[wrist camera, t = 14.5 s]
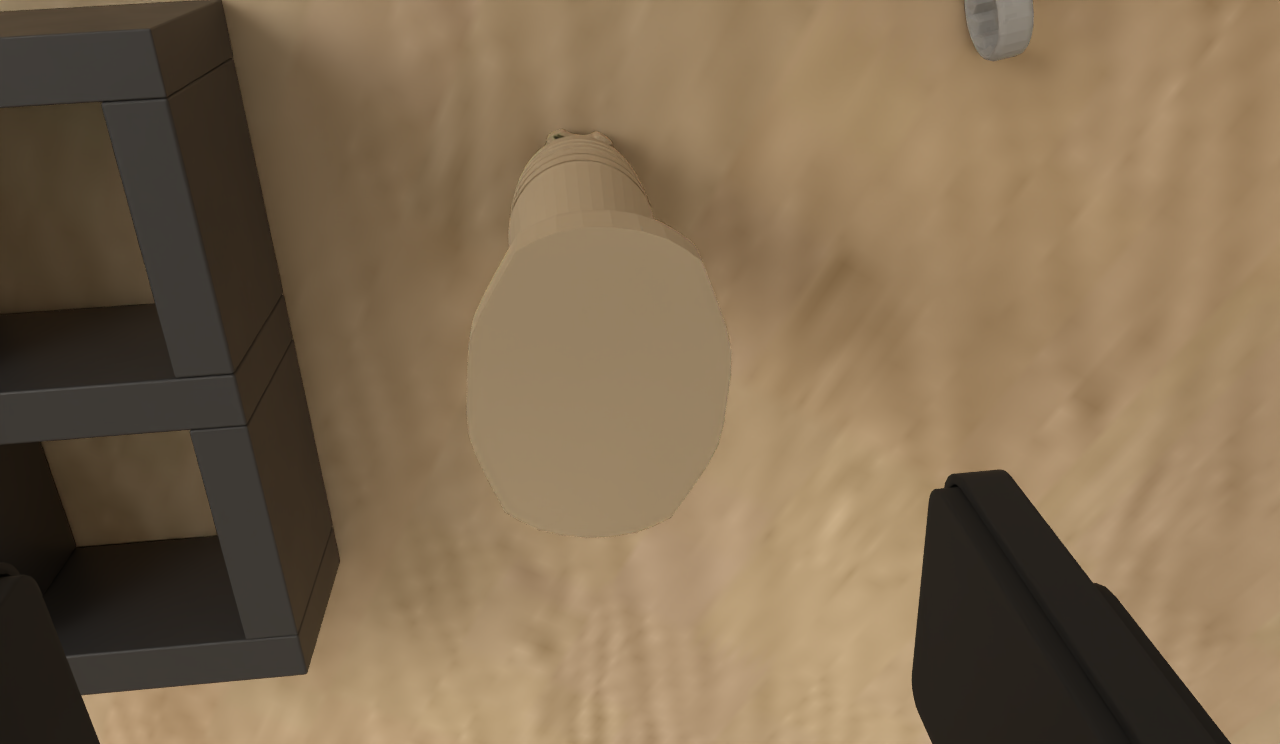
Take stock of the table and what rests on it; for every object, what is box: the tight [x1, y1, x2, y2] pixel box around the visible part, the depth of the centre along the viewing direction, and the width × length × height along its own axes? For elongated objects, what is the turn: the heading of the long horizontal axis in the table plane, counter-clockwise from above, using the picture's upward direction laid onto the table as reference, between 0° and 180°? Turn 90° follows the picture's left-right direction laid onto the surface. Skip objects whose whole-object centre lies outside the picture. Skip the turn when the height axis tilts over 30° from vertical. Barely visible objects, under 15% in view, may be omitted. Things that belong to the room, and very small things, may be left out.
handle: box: [466, 129, 732, 538], centre depth 26 cm, size 5×6×15 cm
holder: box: [0, 0, 340, 695], centre depth 31 cm, size 20×11×6 cm, turn 3°
